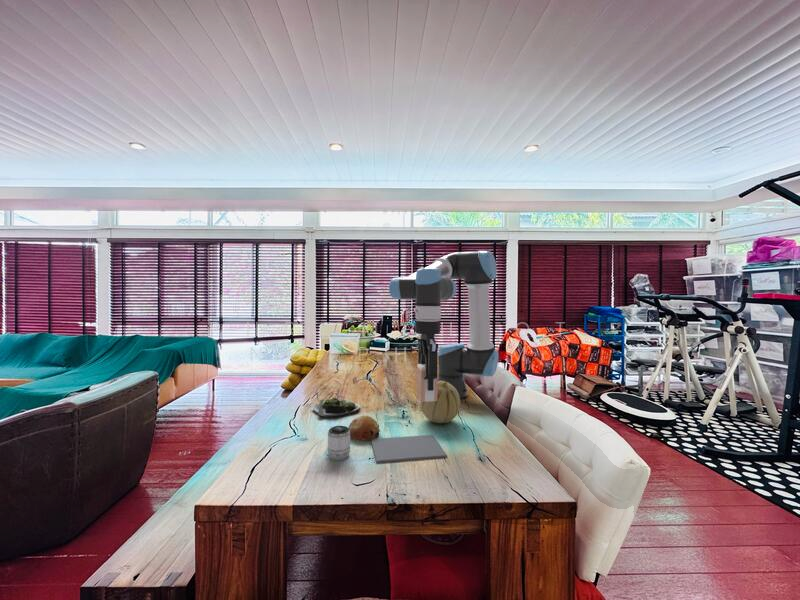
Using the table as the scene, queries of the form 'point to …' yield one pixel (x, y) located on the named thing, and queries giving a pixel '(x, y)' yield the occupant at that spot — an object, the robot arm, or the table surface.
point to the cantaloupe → (442, 404)
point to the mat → (406, 448)
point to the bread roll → (364, 428)
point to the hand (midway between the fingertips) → (426, 397)
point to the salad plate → (336, 408)
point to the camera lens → (338, 442)
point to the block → (421, 383)
